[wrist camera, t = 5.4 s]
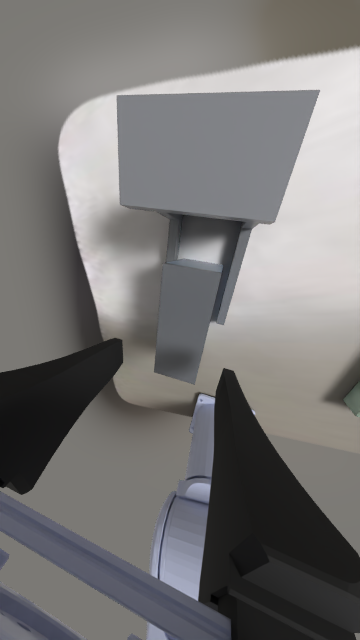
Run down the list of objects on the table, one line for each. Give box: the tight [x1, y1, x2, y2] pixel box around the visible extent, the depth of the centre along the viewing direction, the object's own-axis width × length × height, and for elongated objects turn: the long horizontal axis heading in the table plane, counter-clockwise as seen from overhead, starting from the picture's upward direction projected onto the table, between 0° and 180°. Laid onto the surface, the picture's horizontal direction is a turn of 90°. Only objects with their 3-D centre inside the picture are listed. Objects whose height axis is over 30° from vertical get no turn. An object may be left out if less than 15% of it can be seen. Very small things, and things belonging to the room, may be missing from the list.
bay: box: [117, 90, 320, 325], centre depth 12 cm, size 12×7×9 cm, turn 172°
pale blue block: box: [154, 259, 223, 385], centre depth 16 cm, size 11×4×6 cm, turn 172°
